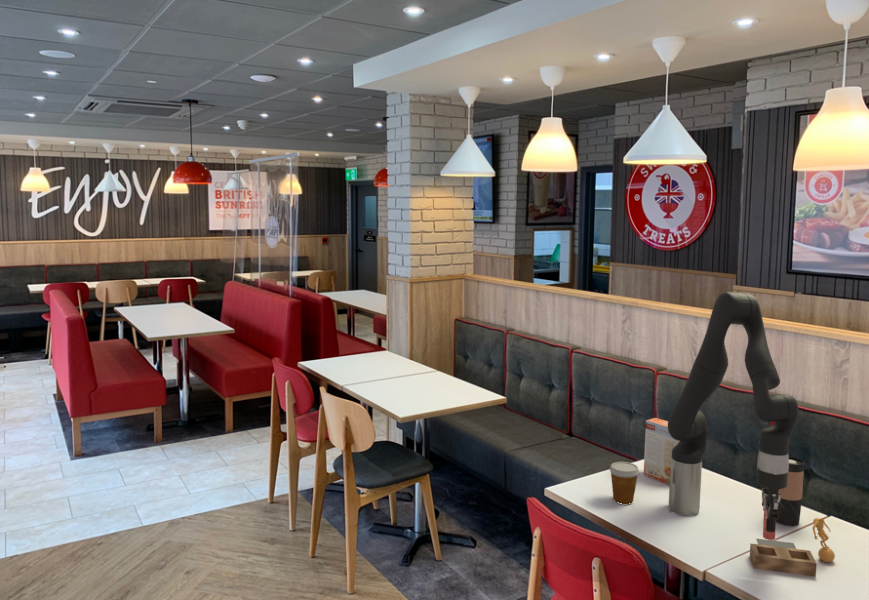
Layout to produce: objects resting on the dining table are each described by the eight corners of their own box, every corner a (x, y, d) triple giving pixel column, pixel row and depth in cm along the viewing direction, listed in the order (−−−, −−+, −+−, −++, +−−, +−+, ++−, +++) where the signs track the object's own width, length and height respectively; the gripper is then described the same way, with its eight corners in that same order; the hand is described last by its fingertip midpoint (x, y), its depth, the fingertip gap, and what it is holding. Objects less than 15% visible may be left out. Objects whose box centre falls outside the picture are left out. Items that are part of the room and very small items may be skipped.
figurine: (826, 569, 185) (829, 527, 184) (803, 560, 190) (806, 519, 189) (840, 559, 190) (843, 519, 189) (817, 551, 195) (821, 511, 194)
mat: (760, 552, 194) (761, 551, 194) (756, 539, 202) (756, 538, 202) (799, 557, 192) (800, 556, 192) (793, 543, 199) (793, 542, 199)
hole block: (753, 569, 185) (754, 555, 185) (749, 556, 192) (750, 543, 192) (815, 577, 181) (816, 563, 181) (809, 564, 188) (810, 550, 187)
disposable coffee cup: (626, 493, 235) (627, 459, 233) (644, 504, 226) (645, 469, 224) (602, 497, 231) (603, 463, 230) (619, 508, 222) (621, 473, 221)
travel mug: (803, 528, 209) (808, 465, 206) (776, 526, 210) (780, 463, 208) (795, 517, 216) (800, 456, 214) (769, 515, 218) (773, 454, 215)
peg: (763, 539, 186) (765, 505, 184) (761, 534, 188) (763, 501, 187) (776, 540, 185) (778, 506, 184) (773, 535, 188) (775, 502, 186)
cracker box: (686, 483, 243) (689, 426, 240) (675, 487, 239) (678, 429, 236) (653, 471, 254) (656, 416, 251) (642, 474, 251) (645, 419, 248)
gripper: (752, 457, 192) (749, 516, 194) (762, 475, 178) (758, 538, 181) (782, 459, 190) (778, 519, 192) (794, 478, 176) (790, 542, 179)
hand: (769, 528), depth 186 cm, fingers closed on peg, 3 cm apart
